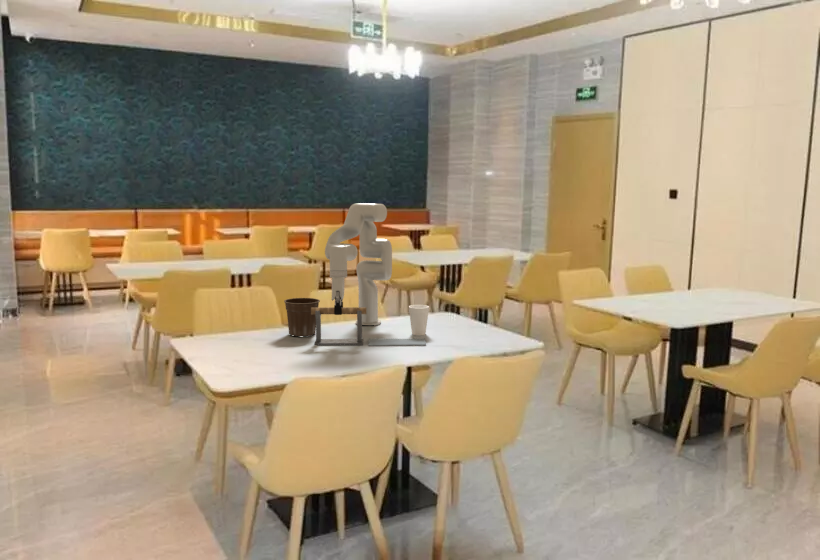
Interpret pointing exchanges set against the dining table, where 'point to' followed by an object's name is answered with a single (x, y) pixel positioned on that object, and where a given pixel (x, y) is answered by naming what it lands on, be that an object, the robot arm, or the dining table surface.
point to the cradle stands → (338, 341)
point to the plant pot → (301, 316)
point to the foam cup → (418, 318)
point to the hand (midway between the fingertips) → (338, 312)
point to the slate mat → (397, 342)
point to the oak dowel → (344, 310)
